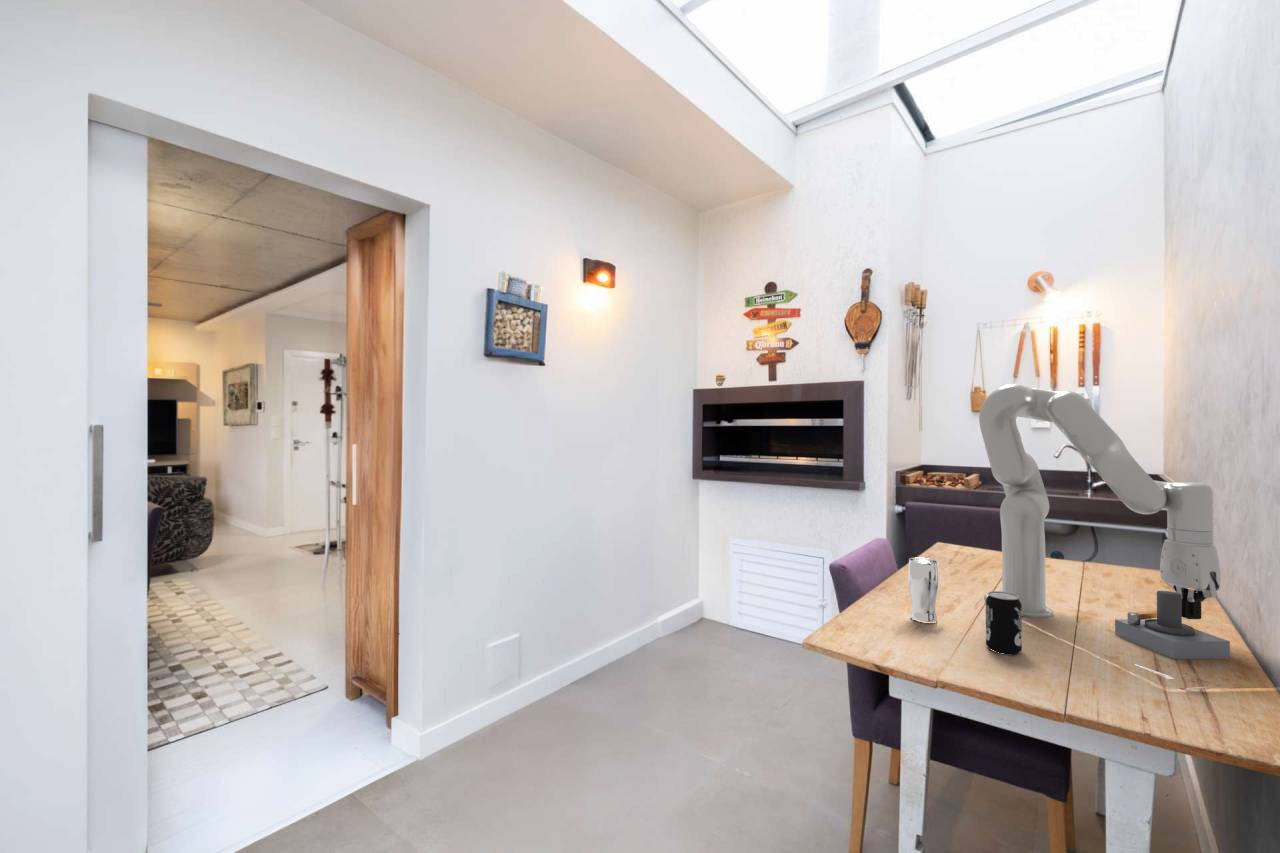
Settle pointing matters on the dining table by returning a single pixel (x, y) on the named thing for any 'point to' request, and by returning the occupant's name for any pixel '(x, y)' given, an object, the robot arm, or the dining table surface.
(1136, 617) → the orange stick
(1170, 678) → the fork
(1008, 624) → the beverage can
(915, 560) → the beer glass
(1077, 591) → the dining table surface
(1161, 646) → the socket block
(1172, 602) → the plug
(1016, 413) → the robot arm
